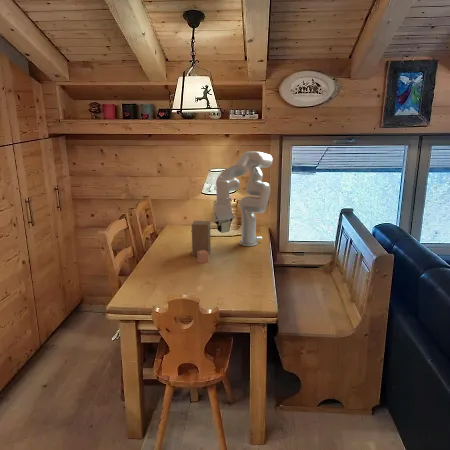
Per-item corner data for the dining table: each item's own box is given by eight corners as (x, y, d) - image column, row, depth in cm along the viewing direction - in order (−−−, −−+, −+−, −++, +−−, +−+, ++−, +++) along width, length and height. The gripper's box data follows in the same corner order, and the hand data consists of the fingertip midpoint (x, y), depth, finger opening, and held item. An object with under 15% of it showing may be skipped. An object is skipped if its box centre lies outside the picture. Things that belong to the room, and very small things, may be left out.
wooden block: (210, 251, 264) (210, 220, 258) (208, 256, 254) (208, 224, 249) (195, 250, 265) (194, 220, 259) (192, 256, 255) (191, 224, 250)
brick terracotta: (205, 259, 249) (204, 249, 248) (208, 262, 245) (208, 252, 243) (197, 260, 247) (197, 251, 246) (200, 263, 243) (200, 253, 241)
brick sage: (225, 229, 253) (225, 219, 251) (229, 231, 248) (229, 221, 247) (218, 230, 250) (218, 221, 249) (222, 232, 246) (221, 223, 244)
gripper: (232, 197, 251) (233, 226, 256) (207, 201, 244) (208, 231, 249) (238, 200, 245) (239, 230, 250) (212, 204, 237) (213, 234, 242)
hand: (223, 230), depth 249 cm, fingers closed on brick sage, 5 cm apart
